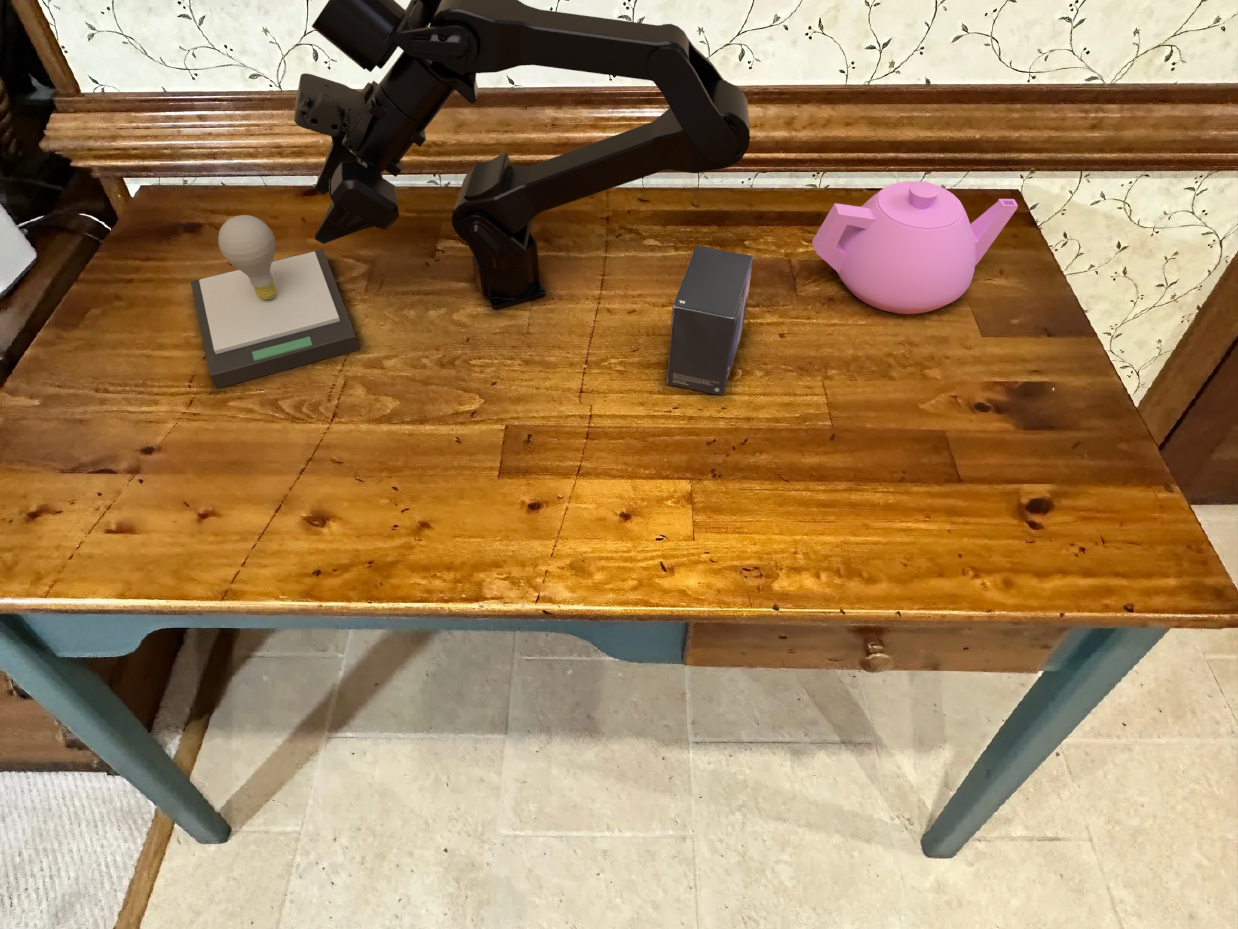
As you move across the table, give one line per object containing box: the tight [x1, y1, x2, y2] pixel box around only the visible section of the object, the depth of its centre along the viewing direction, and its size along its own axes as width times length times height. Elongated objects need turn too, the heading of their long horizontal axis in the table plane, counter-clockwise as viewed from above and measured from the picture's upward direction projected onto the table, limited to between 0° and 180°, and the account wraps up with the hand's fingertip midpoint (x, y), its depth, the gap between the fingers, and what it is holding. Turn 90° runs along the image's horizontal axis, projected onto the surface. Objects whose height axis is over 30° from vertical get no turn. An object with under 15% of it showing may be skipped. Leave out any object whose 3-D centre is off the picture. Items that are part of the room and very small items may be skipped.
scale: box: [190, 248, 360, 390], centre depth 97 cm, size 15×17×3 cm
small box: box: [665, 245, 754, 396], centre depth 90 cm, size 11×6×10 cm, turn 164°
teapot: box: [811, 180, 1019, 315], centre depth 98 cm, size 22×16×12 cm
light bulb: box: [217, 214, 277, 300], centre depth 93 cm, size 6×5×10 cm
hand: (318, 215), depth 92 cm, fingers open, 9 cm apart
